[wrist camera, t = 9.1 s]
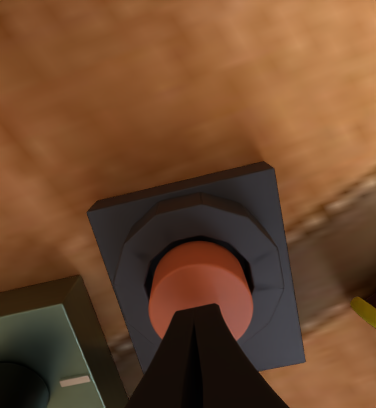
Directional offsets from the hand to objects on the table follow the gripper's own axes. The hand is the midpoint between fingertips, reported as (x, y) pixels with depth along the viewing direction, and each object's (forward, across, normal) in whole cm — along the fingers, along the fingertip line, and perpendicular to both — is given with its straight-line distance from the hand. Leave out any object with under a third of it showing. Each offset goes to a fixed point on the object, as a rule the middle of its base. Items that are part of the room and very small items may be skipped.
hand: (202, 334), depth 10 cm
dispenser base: (+6, 0, +2) cm, 6 cm away
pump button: (+3, 0, 0) cm, 3 cm away
